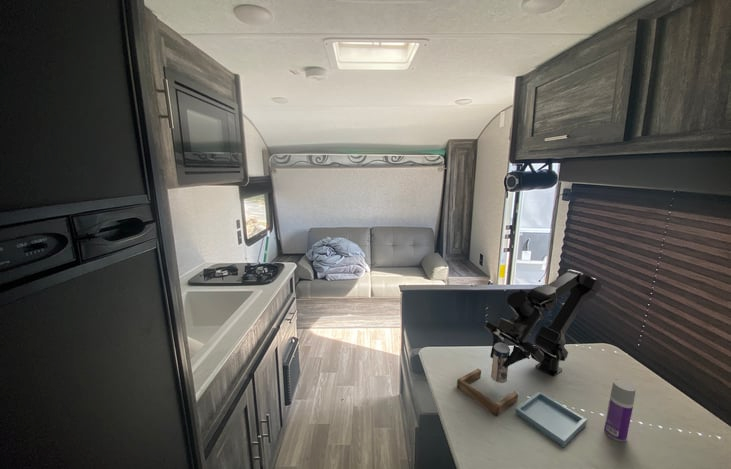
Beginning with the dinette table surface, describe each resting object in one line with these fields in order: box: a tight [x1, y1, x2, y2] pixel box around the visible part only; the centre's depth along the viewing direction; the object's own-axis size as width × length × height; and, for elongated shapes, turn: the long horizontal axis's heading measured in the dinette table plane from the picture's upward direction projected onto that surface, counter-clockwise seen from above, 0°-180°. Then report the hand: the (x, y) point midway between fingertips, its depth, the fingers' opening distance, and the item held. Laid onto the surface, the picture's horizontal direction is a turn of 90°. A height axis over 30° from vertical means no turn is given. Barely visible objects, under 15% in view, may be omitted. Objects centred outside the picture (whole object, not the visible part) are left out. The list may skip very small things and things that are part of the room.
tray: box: [514, 391, 588, 448], centre depth 84 cm, size 13×13×2 cm
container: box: [603, 379, 637, 442], centre depth 78 cm, size 5×5×15 cm
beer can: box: [490, 342, 511, 384], centre depth 94 cm, size 5×5×12 cm
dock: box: [456, 368, 519, 417], centre depth 94 cm, size 11×14×3 cm
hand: (497, 361), depth 94 cm, fingers closed on beer can, 5 cm apart
